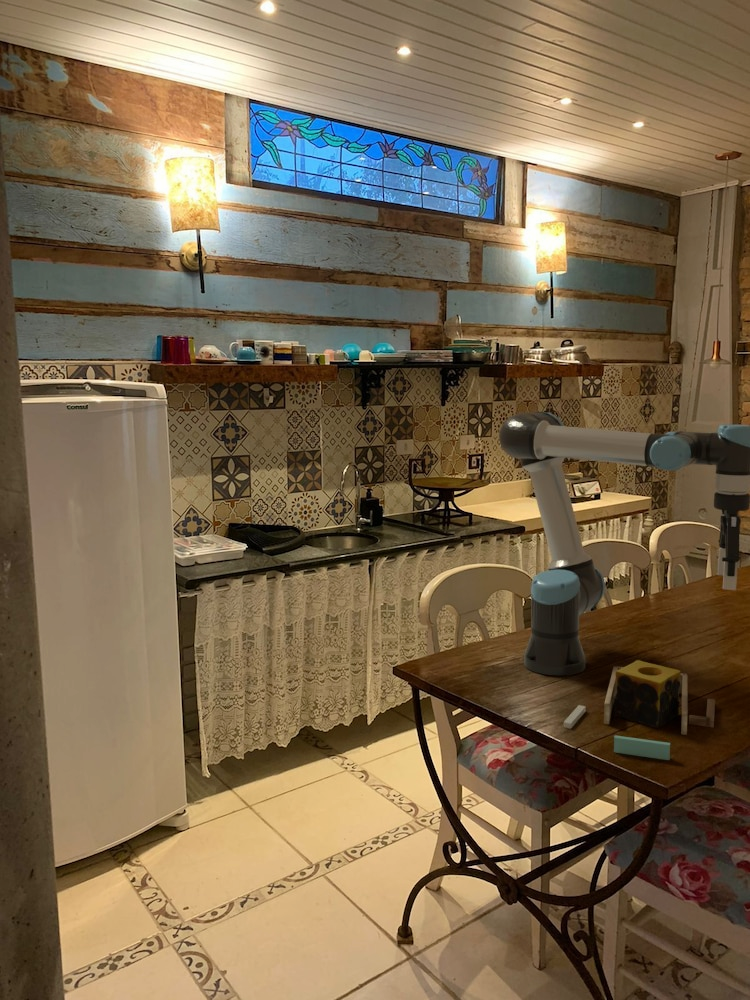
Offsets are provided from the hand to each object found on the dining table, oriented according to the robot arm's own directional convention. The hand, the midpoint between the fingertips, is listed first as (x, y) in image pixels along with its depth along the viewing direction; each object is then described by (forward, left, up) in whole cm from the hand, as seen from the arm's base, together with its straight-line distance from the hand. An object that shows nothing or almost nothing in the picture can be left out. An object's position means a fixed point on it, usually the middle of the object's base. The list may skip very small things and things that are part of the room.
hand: (726, 582), depth 182 cm
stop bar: (-16, -47, -24) cm, 55 cm away
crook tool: (-5, -23, -24) cm, 34 cm away
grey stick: (-30, -34, -24) cm, 52 cm away
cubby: (-16, -23, -24) cm, 37 cm away
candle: (-16, -27, -24) cm, 40 cm away
